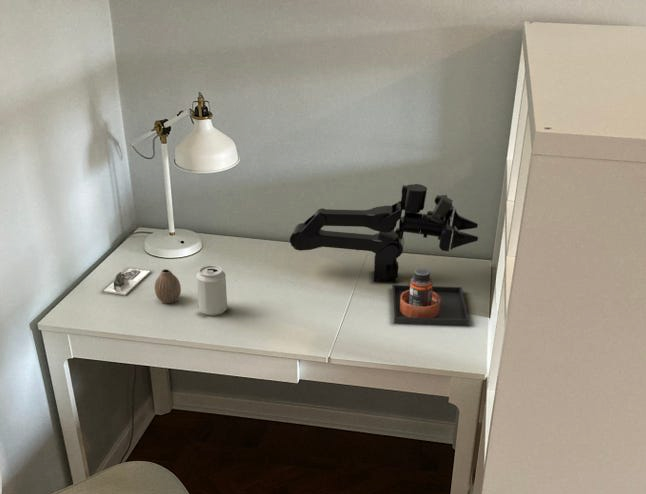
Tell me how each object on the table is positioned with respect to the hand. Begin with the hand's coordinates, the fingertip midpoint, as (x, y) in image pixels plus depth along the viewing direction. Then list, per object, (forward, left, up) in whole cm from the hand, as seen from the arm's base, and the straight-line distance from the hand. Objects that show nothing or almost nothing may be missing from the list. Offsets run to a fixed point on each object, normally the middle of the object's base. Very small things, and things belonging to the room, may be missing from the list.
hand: (477, 232), depth 219 cm
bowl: (-16, -17, -16) cm, 28 cm away
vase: (-84, -15, -16) cm, 87 cm away
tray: (-13, -15, -16) cm, 25 cm away
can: (-71, -20, -16) cm, 76 cm away
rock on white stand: (-98, -5, -16) cm, 99 cm away
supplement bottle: (-16, -17, -16) cm, 28 cm away
